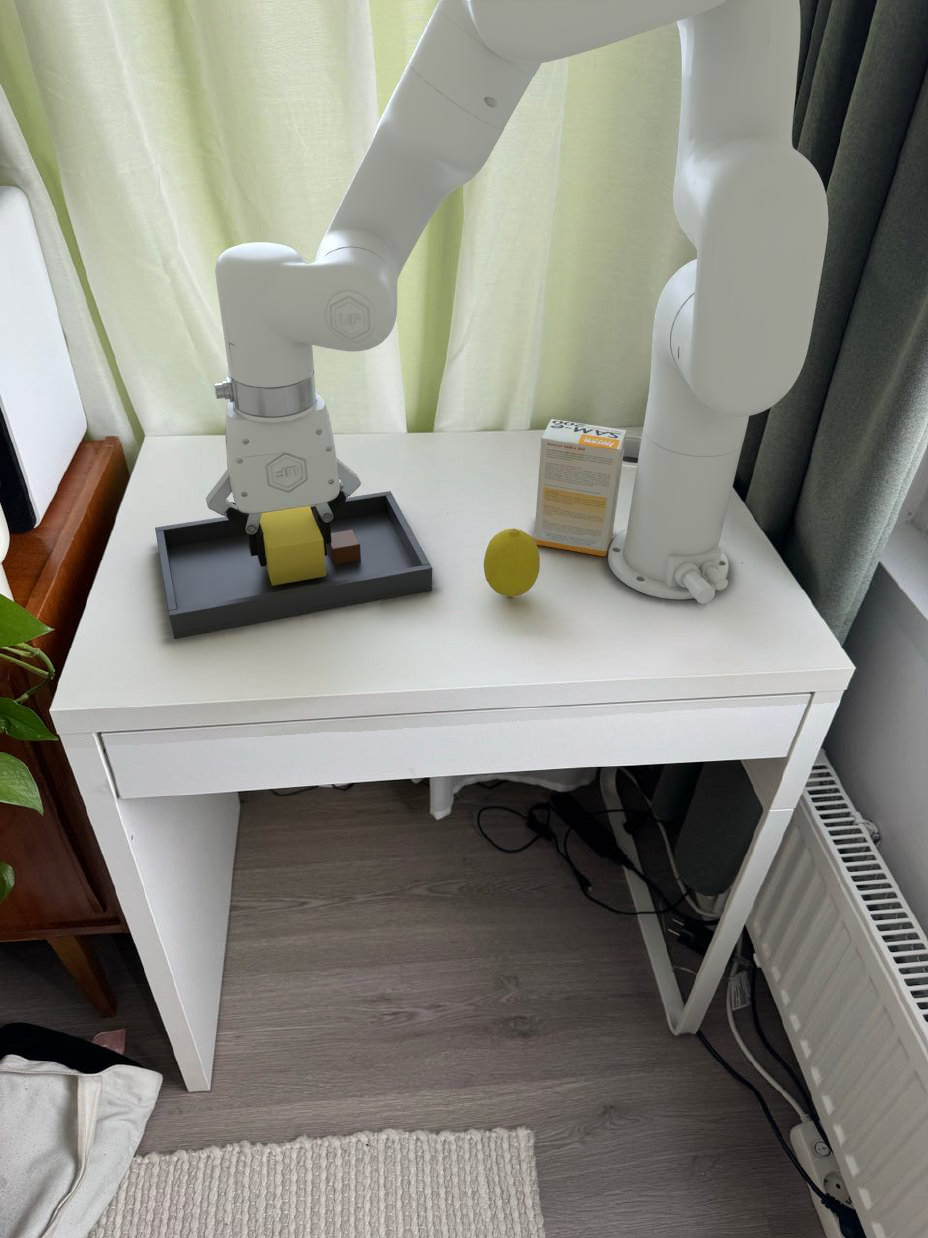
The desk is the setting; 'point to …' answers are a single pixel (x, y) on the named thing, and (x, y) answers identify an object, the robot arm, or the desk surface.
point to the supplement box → (578, 486)
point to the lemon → (511, 562)
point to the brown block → (344, 547)
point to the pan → (243, 593)
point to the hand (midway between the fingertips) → (291, 552)
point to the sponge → (293, 545)
